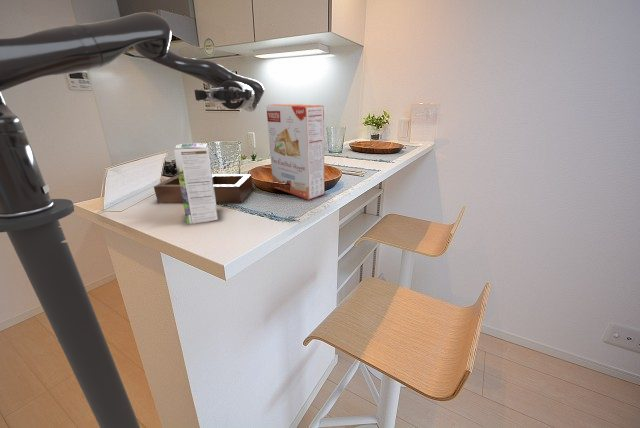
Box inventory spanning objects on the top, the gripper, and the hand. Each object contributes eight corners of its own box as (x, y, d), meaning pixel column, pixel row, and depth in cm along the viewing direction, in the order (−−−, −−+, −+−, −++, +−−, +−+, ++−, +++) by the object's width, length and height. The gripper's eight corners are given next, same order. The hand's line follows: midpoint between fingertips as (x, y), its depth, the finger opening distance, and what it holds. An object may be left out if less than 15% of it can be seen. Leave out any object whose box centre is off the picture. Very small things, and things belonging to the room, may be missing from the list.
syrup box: (188, 214, 59) (174, 143, 54) (218, 210, 61) (207, 141, 56) (187, 225, 54) (171, 148, 49) (219, 220, 56) (207, 146, 51)
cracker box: (271, 189, 75) (264, 104, 67) (289, 184, 79) (284, 103, 71) (307, 201, 66) (304, 104, 58) (325, 195, 70) (325, 104, 62)
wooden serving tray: (157, 203, 66) (153, 186, 65) (179, 189, 76) (176, 174, 75) (241, 203, 66) (239, 186, 64) (252, 189, 75) (251, 174, 74)
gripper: (210, 81, 83) (183, 78, 68) (258, 80, 82) (242, 77, 67) (213, 109, 86) (188, 111, 71) (260, 108, 85) (245, 110, 70)
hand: (214, 94), depth 69 cm, fingers open, 8 cm apart
